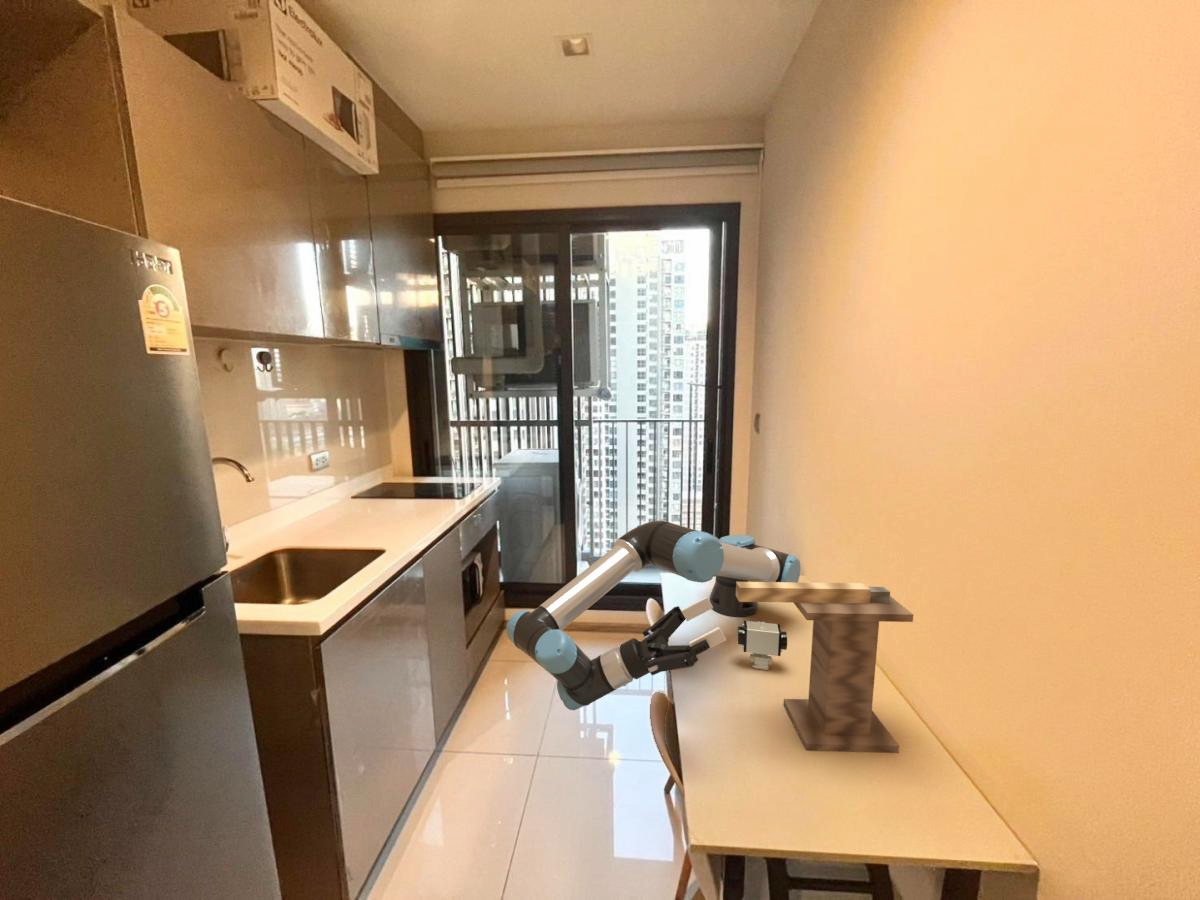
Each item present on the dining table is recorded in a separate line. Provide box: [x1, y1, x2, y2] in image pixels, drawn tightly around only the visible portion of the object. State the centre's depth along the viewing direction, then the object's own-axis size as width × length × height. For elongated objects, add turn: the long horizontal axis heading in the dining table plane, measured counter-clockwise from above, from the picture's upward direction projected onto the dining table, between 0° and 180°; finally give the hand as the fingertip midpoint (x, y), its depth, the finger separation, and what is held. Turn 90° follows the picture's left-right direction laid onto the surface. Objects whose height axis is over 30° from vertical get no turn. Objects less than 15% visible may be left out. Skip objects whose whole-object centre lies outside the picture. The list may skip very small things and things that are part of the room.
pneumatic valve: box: [737, 620, 788, 671], centre depth 128 cm, size 6×12×12 cm, turn 77°
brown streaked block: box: [736, 581, 891, 604], centre depth 102 cm, size 30×3×3 cm, turn 88°
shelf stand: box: [782, 595, 914, 754], centre depth 104 cm, size 20×14×28 cm
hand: (716, 616), depth 104 cm, fingers open, 13 cm apart
